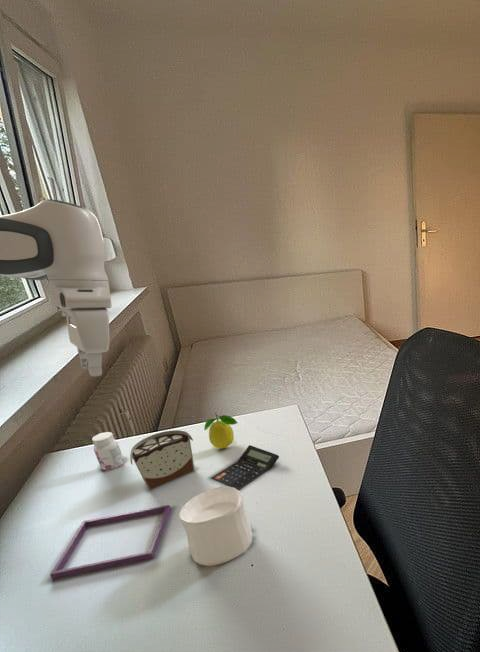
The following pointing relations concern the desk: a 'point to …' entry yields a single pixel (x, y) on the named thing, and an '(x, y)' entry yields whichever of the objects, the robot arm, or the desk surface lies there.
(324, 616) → the desk surface
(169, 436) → the food container
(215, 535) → the cup
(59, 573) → the purple square frame
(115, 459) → the pill bottle
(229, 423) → the lemon
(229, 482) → the calculator
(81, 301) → the robot arm
